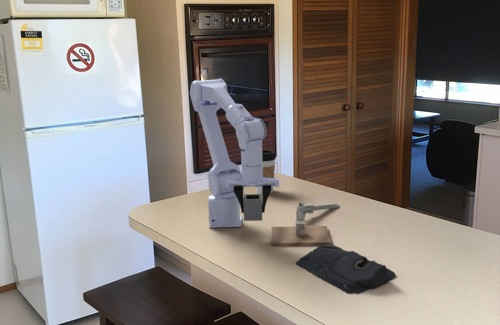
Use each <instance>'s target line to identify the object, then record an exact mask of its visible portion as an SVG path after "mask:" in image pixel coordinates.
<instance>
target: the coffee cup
mask: <svg viewBox="0 0 500 325" xmlns="http://www.w3.org/2000/svg"><path fill="white" fill-rule="evenodd" d="M276 159H277V156H276V154H275V151H273V150H269V149H268V150H267V149H264V150H263V149H262V168H263V177H264V178H275V172H276V171H275V170H276V164H275V162H276V161H275V160H276ZM273 191H274V186H271V192H270V194H272V193H274V192H273ZM255 192H256V194H262V187H255Z"/></svg>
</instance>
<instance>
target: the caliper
mask: <svg viewBox="0 0 500 325" xmlns="http://www.w3.org/2000/svg"><path fill="white" fill-rule="evenodd" d="M338 207H340V204H338V203H335V202H332V203H322V204H305V202H303V201H301V202H299V203H298V206H297V207H296V214H295V218H296V220H295V222H296V221H304V222H305V218H306V215H307V214H309V215H310V214H314V212H315V211H322V210H331V209H336V208H338Z"/></svg>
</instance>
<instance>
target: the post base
mask: <svg viewBox="0 0 500 325" xmlns="http://www.w3.org/2000/svg"><path fill="white" fill-rule="evenodd" d="M329 244H333V243H332V240H331V236H330V232H329V230H328V226H327V225H317V226H316V225H312V226H311V225H309V226H307V225H306V223H305V220H304V221H296V220H295V226H271V247H301V246H302V247H310V246H311V247H312V246H314V247H317V246H318V247H319V246H322V245H329Z"/></svg>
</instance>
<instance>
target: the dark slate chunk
mask: <svg viewBox="0 0 500 325" xmlns="http://www.w3.org/2000/svg"><path fill="white" fill-rule="evenodd" d="M295 264H296V266H298V267H299V268H301V269H303V270H305V271H307V272H308V273H310V274H312V275H314V276H315V277H316V278H318V279H320V280H322V281H324V282H325V283H327V284H329V285H331V286H333V287H335V288H337V289H338V290H340V291H342V292H344V293H346V294H348V295H350V294H352V293H353V294H357V295H359V294H362V293H364V292H367V291H369V290H374V289H377V288H380V287H383V286H384V285H386V284H388V283H389V282H390V281H391V280H392V279H394V277H396V276H397V275H396V273H395V272H394V271H393V270H391V269H390V268H388V267H387V266H386V265H385V264H381V263H379V262H376V261H375V260H369V259H368V258H367V257H366V256H365V255H362V254H359V253H357V252H355V251H354V250H351V251H347V250H345V249H343V248H341V247H339V246H336V245H334V244H333V243H331V244H329V245H322V246H318V247H317V246H316V248H314V249H313V250H311V251H310V252H308V253H306V254H305V255H304V256H302V257H299V259H298V260H296V262H295Z"/></svg>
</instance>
